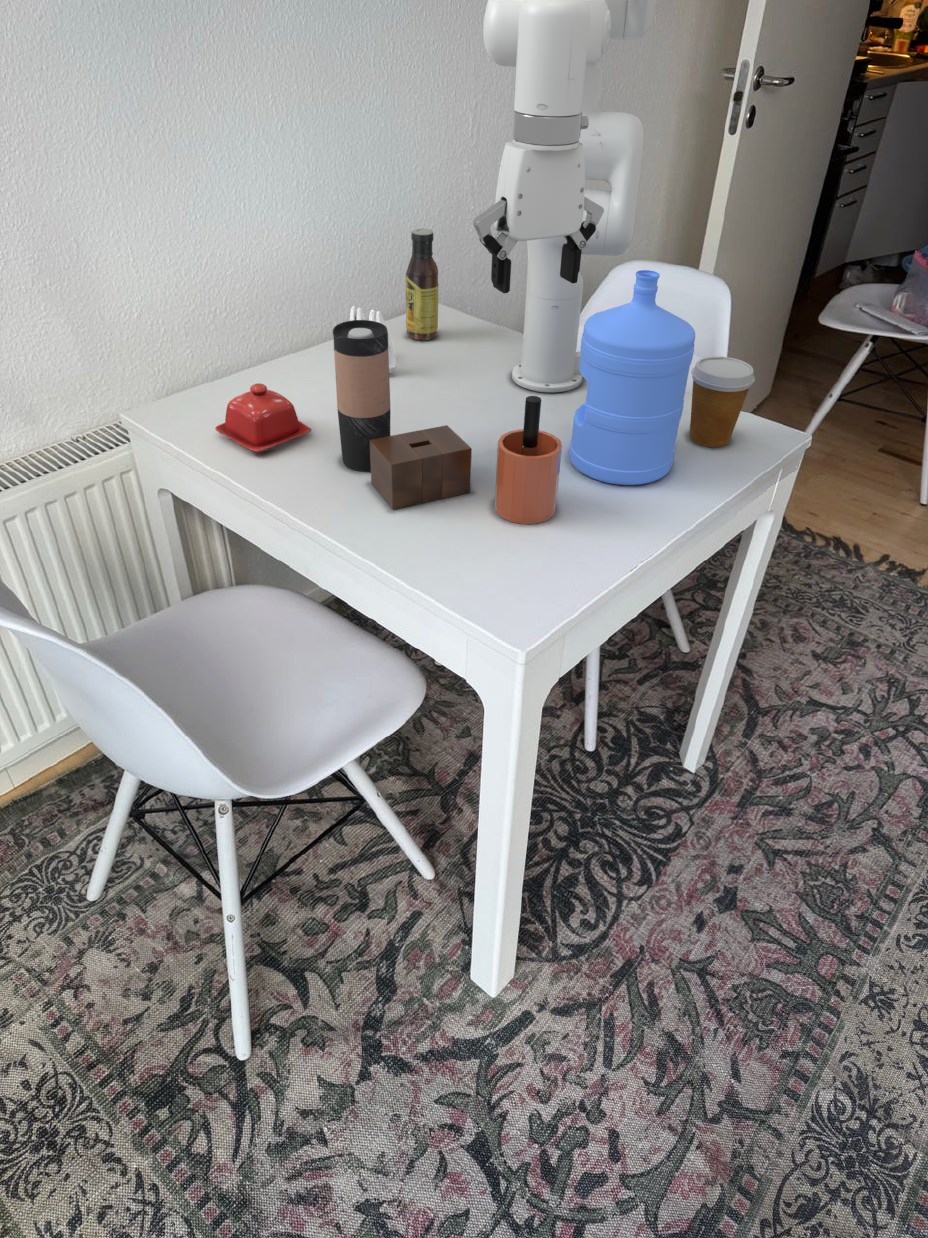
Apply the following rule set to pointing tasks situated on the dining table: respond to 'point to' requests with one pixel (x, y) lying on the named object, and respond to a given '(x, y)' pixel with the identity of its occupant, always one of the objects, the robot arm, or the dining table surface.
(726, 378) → the disposable coffee cup
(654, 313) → the water jug
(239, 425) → the butter dish
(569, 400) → the dining table surface
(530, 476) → the cup
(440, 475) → the knife block
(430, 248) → the sauce bottle
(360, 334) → the travel mug
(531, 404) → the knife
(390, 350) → the shaker set
